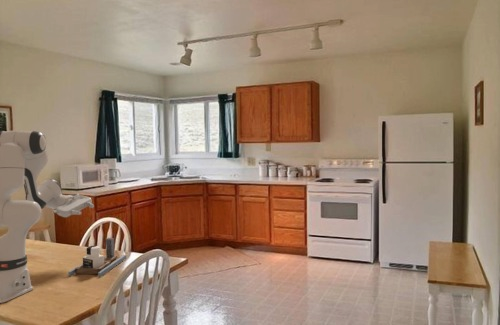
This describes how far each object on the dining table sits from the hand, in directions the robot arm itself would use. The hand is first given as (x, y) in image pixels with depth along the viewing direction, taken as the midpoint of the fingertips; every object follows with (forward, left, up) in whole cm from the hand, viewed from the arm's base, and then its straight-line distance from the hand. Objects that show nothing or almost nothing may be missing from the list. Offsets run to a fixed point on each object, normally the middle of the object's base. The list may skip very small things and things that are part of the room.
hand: (86, 209), depth 209 cm
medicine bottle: (-15, -11, -28) cm, 34 cm away
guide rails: (-10, -11, -28) cm, 31 cm away
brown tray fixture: (-8, -11, -28) cm, 31 cm away
